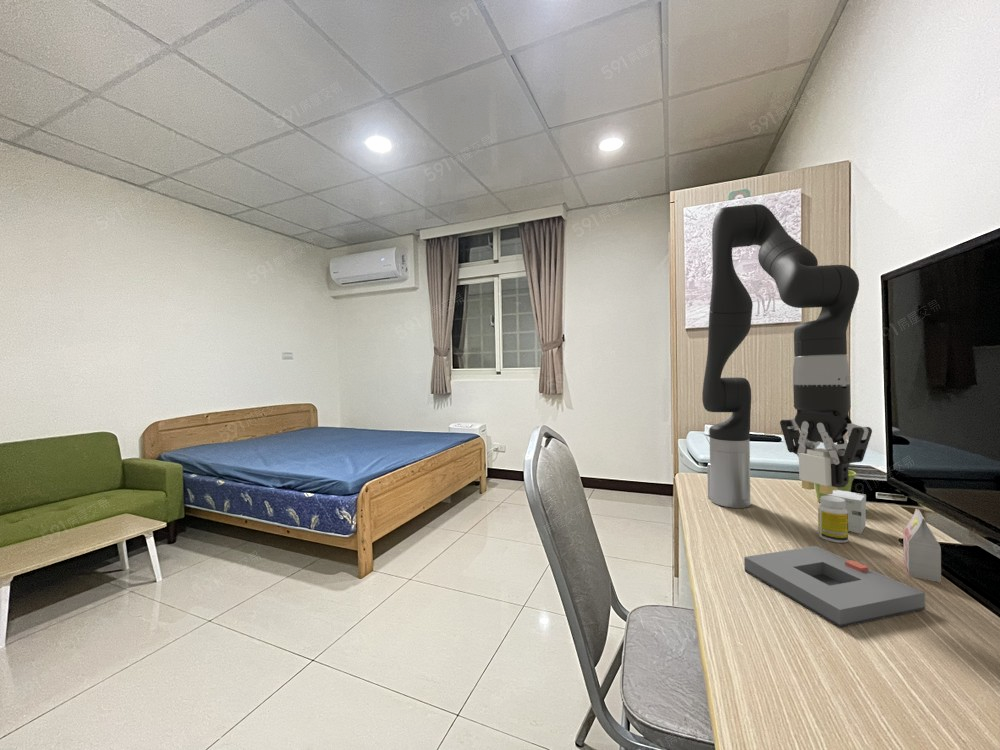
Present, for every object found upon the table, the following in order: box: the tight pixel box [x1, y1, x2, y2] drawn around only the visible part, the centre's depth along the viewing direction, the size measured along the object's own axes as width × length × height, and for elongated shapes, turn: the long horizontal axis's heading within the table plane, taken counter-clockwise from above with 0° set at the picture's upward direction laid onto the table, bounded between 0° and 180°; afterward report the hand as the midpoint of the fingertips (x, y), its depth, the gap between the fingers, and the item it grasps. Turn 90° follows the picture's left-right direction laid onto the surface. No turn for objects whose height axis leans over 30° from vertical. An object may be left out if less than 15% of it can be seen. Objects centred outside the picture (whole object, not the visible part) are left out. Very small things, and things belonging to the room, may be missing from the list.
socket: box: [743, 545, 926, 628], centre depth 64 cm, size 16×16×3 cm
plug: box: [798, 448, 838, 495], centre depth 67 cm, size 4×5×7 cm
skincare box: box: [827, 490, 867, 535], centre depth 88 cm, size 6×6×7 cm
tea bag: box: [902, 508, 942, 583], centre depth 69 cm, size 4×7×10 cm, turn 140°
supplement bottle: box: [817, 496, 849, 544], centre depth 82 cm, size 5×5×8 cm
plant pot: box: [814, 469, 857, 503], centre depth 103 cm, size 9×9×9 cm
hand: (823, 482), depth 67 cm, fingers closed on plug, 4 cm apart
